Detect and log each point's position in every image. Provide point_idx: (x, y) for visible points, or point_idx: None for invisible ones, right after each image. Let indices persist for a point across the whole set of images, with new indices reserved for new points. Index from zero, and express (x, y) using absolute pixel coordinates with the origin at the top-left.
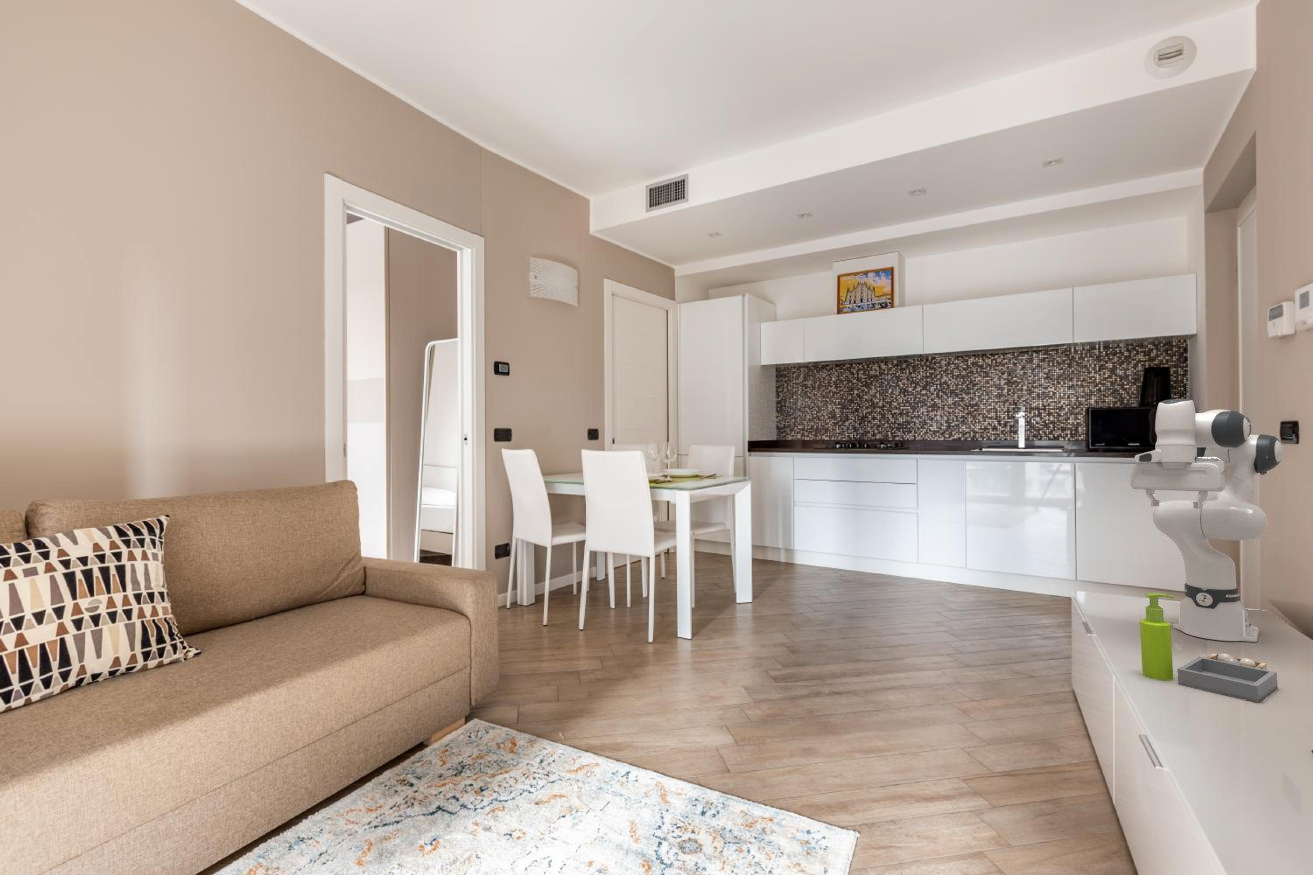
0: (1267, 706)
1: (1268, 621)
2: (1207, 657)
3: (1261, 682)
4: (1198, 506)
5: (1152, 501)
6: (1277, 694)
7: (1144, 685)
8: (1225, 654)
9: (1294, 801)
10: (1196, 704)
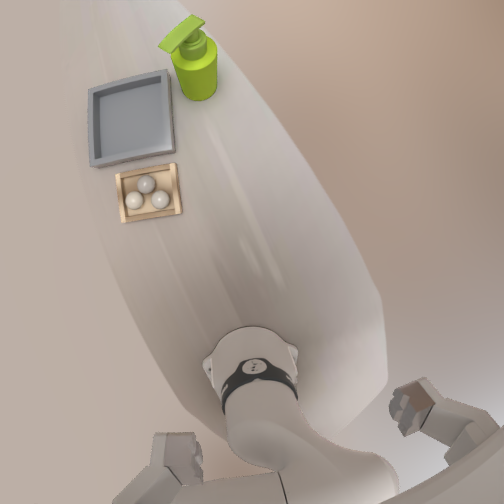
0: None
1: None
2: (175, 182)
3: (88, 106)
4: (162, 439)
5: (431, 395)
6: None
7: None
8: (156, 197)
9: None
10: (135, 37)
